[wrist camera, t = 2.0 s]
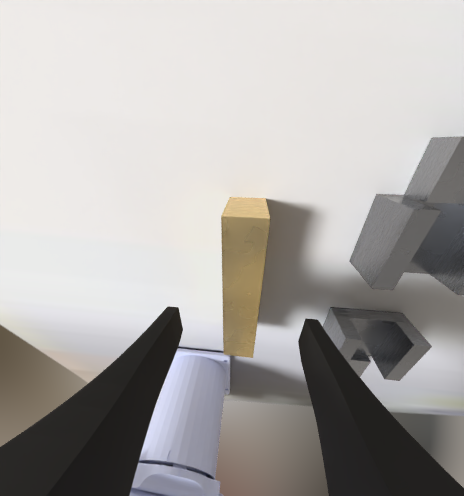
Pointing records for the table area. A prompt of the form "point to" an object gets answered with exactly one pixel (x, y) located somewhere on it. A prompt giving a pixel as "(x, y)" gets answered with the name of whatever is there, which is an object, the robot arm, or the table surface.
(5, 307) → the table surface
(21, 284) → the table surface
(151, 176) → the table surface
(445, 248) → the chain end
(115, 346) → the table surface
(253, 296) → the tan wooden beam
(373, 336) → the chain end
